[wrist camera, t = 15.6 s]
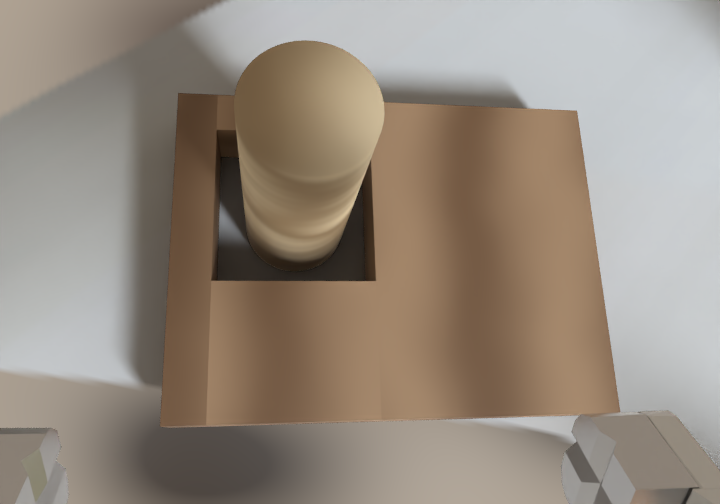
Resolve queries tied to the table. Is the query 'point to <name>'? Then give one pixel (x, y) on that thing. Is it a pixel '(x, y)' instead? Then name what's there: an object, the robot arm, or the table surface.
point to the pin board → (400, 283)
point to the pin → (303, 148)
